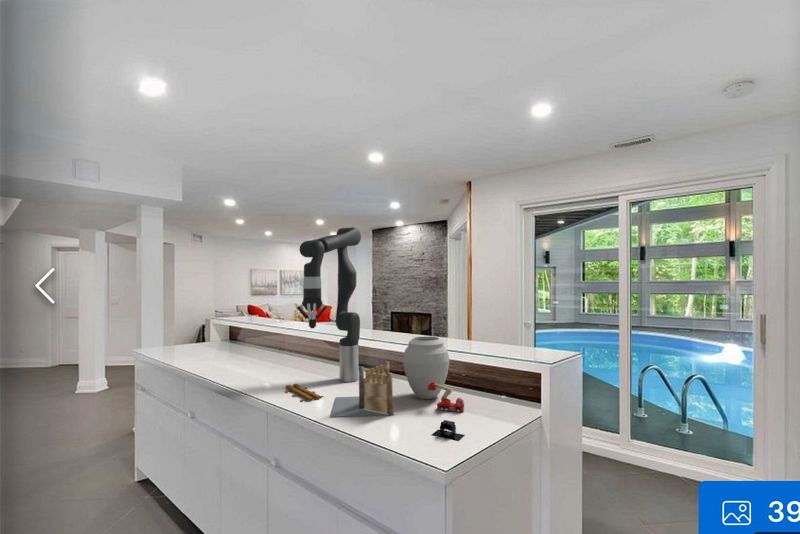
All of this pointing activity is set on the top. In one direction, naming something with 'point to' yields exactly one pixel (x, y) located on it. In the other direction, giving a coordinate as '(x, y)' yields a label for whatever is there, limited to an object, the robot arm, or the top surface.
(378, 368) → the fence panel
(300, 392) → the decorative fence
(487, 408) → the top surface
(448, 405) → the toy fire truck
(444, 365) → the vase
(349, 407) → the mat
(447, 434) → the black arched bracket
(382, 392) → the fixed fence
